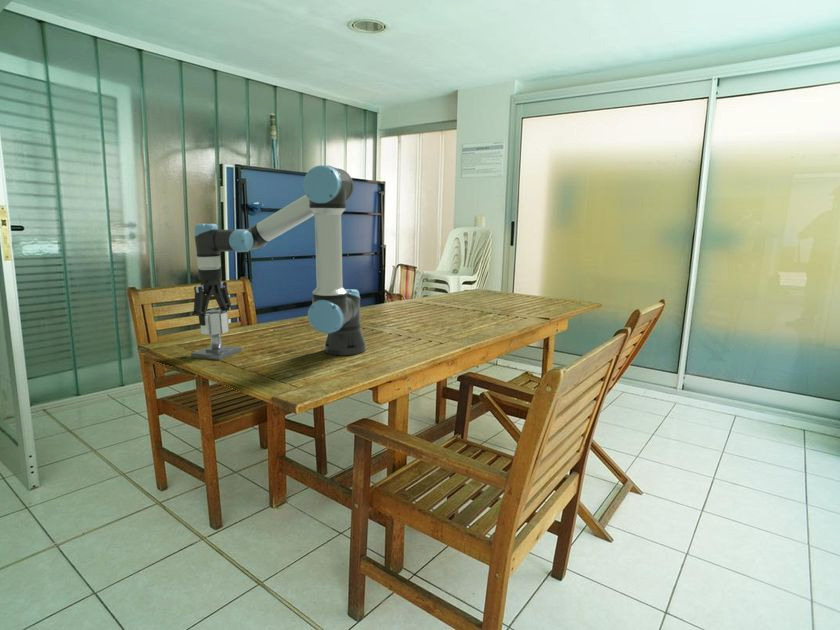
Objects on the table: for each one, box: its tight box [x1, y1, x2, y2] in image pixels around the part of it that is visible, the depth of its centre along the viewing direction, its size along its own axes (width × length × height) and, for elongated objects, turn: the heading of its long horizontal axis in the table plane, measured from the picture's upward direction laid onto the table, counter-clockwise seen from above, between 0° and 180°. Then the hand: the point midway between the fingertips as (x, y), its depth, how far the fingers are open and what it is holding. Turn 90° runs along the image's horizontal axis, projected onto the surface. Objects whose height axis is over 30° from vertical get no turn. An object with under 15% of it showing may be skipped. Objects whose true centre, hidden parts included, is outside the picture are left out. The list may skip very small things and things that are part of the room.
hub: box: [202, 309, 230, 336], centre depth 177 cm, size 9×9×7 cm
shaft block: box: [190, 333, 243, 361], centre depth 178 cm, size 12×12×8 cm
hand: (214, 331), depth 177 cm, fingers closed on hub, 9 cm apart
